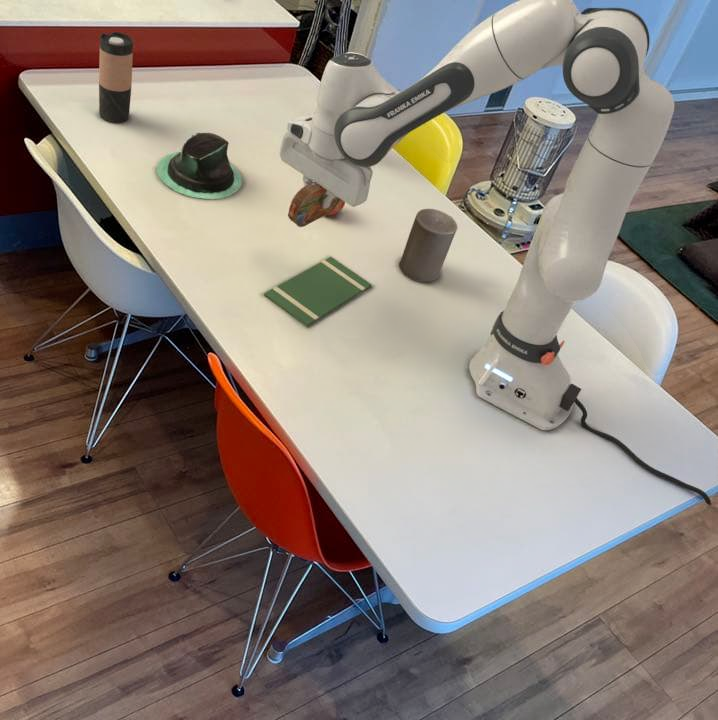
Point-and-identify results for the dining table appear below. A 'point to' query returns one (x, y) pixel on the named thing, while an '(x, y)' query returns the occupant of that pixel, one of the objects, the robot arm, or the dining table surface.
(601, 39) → the robot arm
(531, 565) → the dining table surface
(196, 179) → the hat
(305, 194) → the tin
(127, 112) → the travel mug
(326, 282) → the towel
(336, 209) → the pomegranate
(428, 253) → the pillar candle
